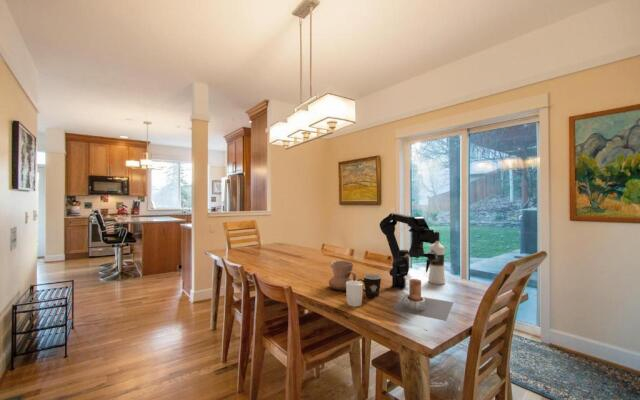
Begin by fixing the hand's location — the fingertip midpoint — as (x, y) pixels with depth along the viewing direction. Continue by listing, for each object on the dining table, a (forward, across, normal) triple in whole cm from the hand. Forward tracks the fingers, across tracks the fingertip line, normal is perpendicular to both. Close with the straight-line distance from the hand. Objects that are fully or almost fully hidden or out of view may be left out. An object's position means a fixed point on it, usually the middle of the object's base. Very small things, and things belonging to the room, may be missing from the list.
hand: (417, 271), depth 152 cm
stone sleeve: (+11, +4, -22) cm, 25 cm away
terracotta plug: (+11, +4, -22) cm, 25 cm away
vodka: (+12, +5, +28) cm, 31 cm away
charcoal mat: (+12, +7, -18) cm, 23 cm away
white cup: (+12, -22, -30) cm, 39 cm away
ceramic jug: (+12, -37, -12) cm, 41 cm away
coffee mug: (+12, -20, -16) cm, 28 cm away
